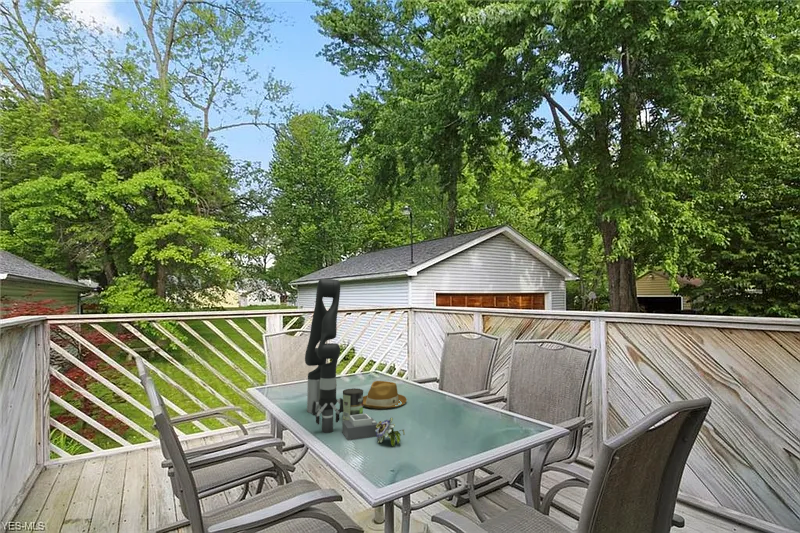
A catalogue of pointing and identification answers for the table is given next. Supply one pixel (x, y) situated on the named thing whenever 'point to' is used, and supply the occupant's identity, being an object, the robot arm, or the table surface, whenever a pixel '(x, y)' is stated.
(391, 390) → the fedora
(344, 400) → the coffee can
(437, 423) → the table surface
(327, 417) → the lens
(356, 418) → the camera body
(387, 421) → the passion flower
